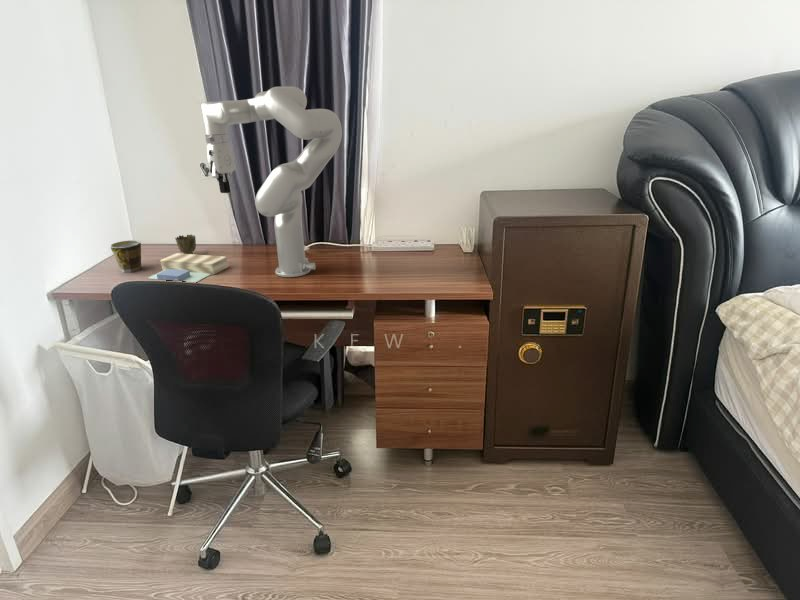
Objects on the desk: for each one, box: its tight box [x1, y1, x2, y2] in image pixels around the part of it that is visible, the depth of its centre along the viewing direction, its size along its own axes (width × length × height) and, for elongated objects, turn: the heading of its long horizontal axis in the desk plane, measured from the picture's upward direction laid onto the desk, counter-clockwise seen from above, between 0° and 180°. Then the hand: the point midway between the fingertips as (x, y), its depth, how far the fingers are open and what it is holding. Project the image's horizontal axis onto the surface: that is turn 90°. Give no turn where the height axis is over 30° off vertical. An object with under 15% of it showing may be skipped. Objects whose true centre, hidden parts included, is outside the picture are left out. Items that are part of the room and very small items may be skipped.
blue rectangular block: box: [156, 269, 190, 282], centre depth 183 cm, size 9×6×2 cm, turn 73°
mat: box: [146, 270, 211, 283], centre depth 185 cm, size 20×9×1 cm, turn 74°
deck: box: [160, 252, 229, 276], centre depth 193 cm, size 22×9×4 cm, turn 74°
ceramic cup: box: [109, 239, 142, 273], centre depth 191 cm, size 13×10×10 cm
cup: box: [174, 233, 197, 254], centre depth 207 cm, size 8×7×8 cm
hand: (225, 192), depth 188 cm, fingers closed
